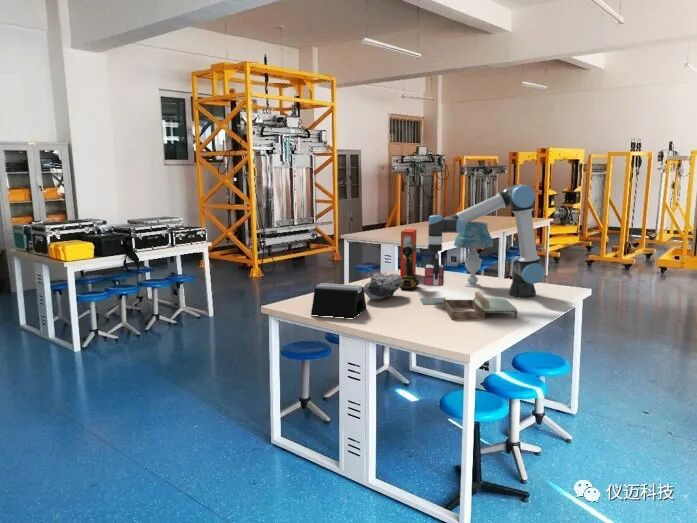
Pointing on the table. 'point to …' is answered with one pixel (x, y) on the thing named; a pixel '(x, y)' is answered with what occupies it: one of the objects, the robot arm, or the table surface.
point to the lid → (493, 303)
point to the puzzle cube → (429, 275)
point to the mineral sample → (382, 285)
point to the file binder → (406, 237)
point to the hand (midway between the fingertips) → (434, 282)
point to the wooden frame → (466, 314)
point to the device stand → (338, 300)
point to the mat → (432, 301)
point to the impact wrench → (409, 268)
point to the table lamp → (473, 247)
